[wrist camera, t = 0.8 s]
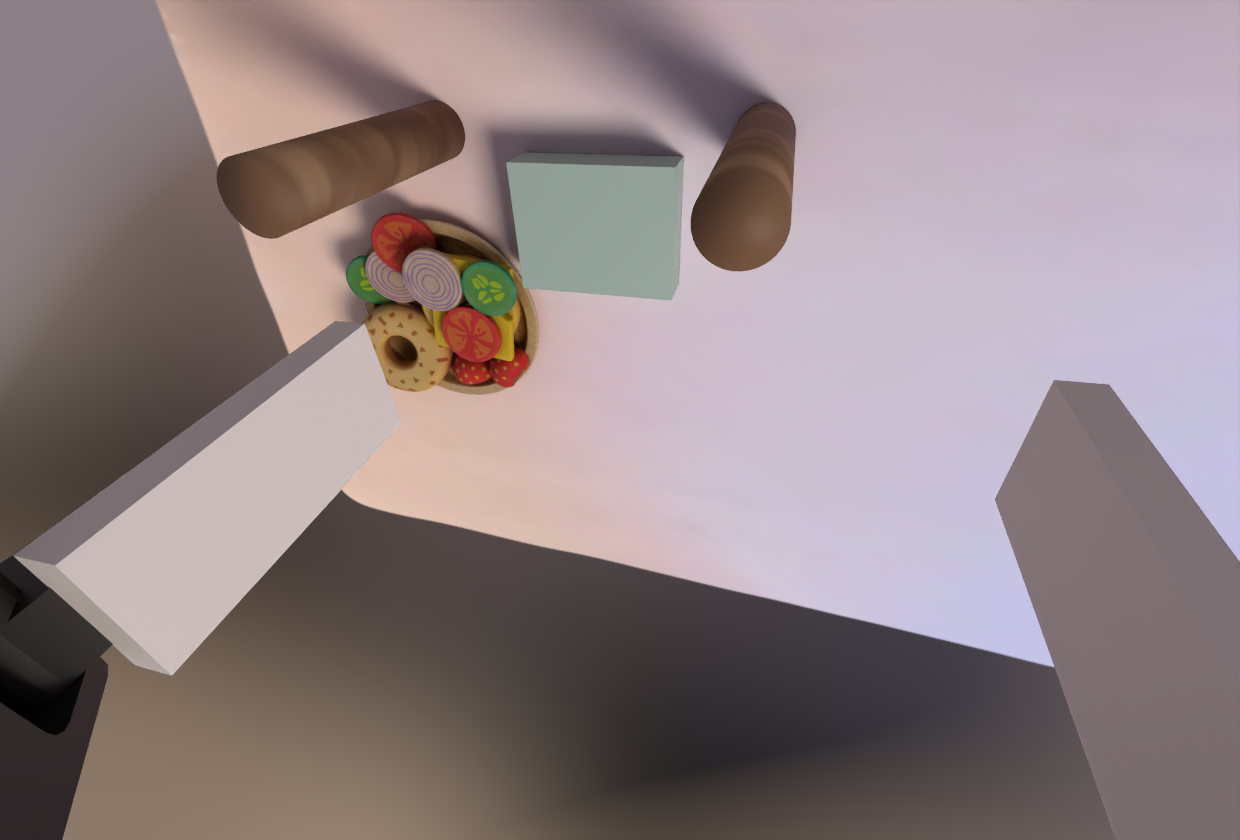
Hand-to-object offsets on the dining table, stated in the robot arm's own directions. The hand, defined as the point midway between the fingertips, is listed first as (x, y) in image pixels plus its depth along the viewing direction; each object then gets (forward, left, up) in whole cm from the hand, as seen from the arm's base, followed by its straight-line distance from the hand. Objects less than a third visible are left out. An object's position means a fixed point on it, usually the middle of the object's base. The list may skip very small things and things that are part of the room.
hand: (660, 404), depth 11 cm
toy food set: (+10, -19, -23) cm, 31 cm away
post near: (-1, +1, -22) cm, 23 cm away
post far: (-1, -17, -22) cm, 28 cm away
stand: (+3, -8, -22) cm, 24 cm away
